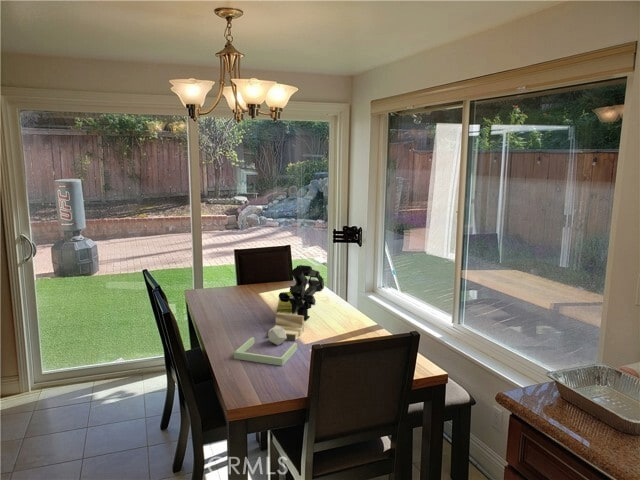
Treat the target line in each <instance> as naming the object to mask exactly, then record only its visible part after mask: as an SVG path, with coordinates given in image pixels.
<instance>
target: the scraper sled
mask: <svg viewBox="0 0 640 480" xmlns="http://www.w3.org/2000/svg"><path fill="white" fill-rule="evenodd" d="M304 323H305V320H304V316H302V315H297V314H292V313H285V312H277V313H275V325H274V326H273V327H272V328H270V329H269V330H268V331H267V333H268V332H269V331H270V330H271V329H273V328H274V327H275V326H276V325H277V326H279V327H281V328H283V329H284V330H285V332H286V337H287V339H285V340H284V341H288V342H289V341H291V342H296V340H297V339H299V338H300V337H301V336H302V334H303V333H304V332H305V326H304V325H305V324H304ZM267 338H268V339H269V336H268V335H267Z"/></svg>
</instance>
